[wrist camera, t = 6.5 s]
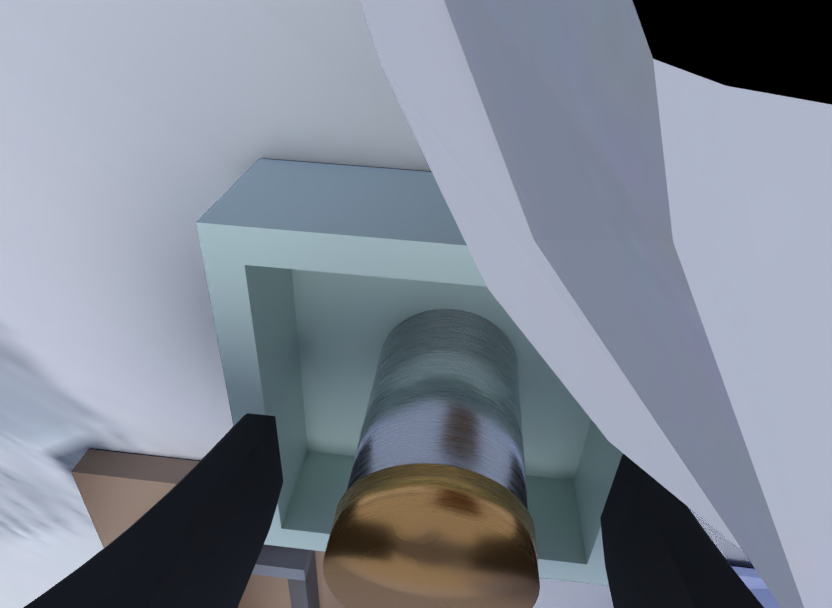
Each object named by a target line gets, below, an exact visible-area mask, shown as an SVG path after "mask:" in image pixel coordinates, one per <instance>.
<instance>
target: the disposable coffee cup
mask: <svg viewBox="0 0 832 608" xmlns="http://www.w3.org/2000/svg"><path fill="white" fill-rule="evenodd" d="M359 2H360V5H361V8H362V11H363V14H364V17H365V20H366V23H367V26H368V29H369V32H370V35H371V38H372V41H373V44H374V47H375V50H376V53H377V56H378V59H379V62H380V65H381V67H382V69H383V71H384V74H385V76H386V78H387V80H388V82H389V84H390V86H391V88H392V90H393V92H394V94H395V96H396V99H397V101H398V103H399V105H400V107H401V109H402V111H403V113H404V115H405V117H406V119H407V121H408V124H409V126H410V128H411V130H412V132H413V134H414V136H415V138H416V140H417V142H418V144H419V146H420V149H421V151H422V153H423V155H424V157H425V159H426V161H427V163H428V165H429V167H430V169H431V171H432V174H433V176H434V178H435V180H436V182H437V184H438V186H439V188H440V190H441V192H442V194H443V196H444V199H445V201H446V203H447V205H448V207H449V209H450V211H451V213H452V215H453V217H454V219H455V221H456V224H457V226H458V228H459V230H460V232H461V234H462V236H463V238H464V240H465V242H466V244H467V247H468V249H469V251H470V253H471V255H472V257H473V259H474V261H475V263H476V265H477V267H478V269H479V272H480V274H481V276H482V278H483V280H484V282H485V284H486V286H487V288H488V289H489V290H490V292H491V293H492V294H493V296H494V297H495V298H496V299H497V301H498V302H499V303H500V304H501V306H502V307H503V308H504V309H505V311H506V312H507V313H508V315H509V316H510V317H511V318H512V320H513V321H514V322H515V323H516V325H517V326H518V327H519V328H520V330H521V331H522V332H523V333H524V335H525V336H526V337H527V339H528V340H529V341H530V342H531V344H532V345H533V346H534V347H535V349H536V350H537V351H538V352H539V354H540V355H541V356H542V358H543V359H544V360H545V361H546V363H547V364H548V365H549V366H550V368H551V369H552V370H553V371H554V373H555V374H556V375H557V377H558V378H559V379H560V380H561V382H562V383H563V384H564V385H565V387H566V388H567V389H568V390H569V392H570V393H571V394H572V395H573V397H574V398H575V399H576V401H577V402H578V403H579V404H580V406H581V407H582V408H583V409H584V411H585V412H586V413H587V414H588V416H589V417H590V418H591V420H592V421H593V422H594V423H595V425H596V426H597V427H598V428H599V430H600V431H601V432H602V433H603V435H604V436H605V437H606V439H607V440H608V441H609V442H610V443H611V444H613V445H614V446H615V447H616V448H617V449H619V450H620V451H621V452H622V453H624V454H625V455H626V456H627V457H628V458H630V459H631V460H632V461H633V462H634V463H636V464H637V465H638V466H639V467H640V468H642V469H643V470H644V471H645V472H647V473H648V474H649V475H650V476H651V477H653V478H654V479H655V480H656V481H657V482H659V483H660V484H661V485H662V486H663V487H665V488H666V489H667V490H668V491H670V492H671V493H672V494H673V495H674V496H676V497H677V498H678V499H679V500H680V501H682V502H683V503H684V504H685V505H686V506H688V507H689V508H690V509H691V510H692V511H694V512H695V513H696V514H697V515H699V516H700V517H701V518H702V519H703V520H705V521H706V522H707V523H708V524H709V525H711V526H712V527H713V528H714V529H715V530H717V531H718V532H719V533H720V534H722V535H723V536H724V537H725V538H726V539H728V540H729V541H730V542H731V543H732V544H734V545H735V546H736V547H738V548H740V549H742V550H743V552H744V553H745V555H746V556H747V558H748V559H749V561H750V562H751V563H752V565H753V566H754V568H755V569H756V571H757V572H758V574H759V575H760V577H761V578H762V580H763V581H764V583H765V584H766V586H767V587H768V589H769V590H770V592H771V593H772V595H773V596H774V598H775V599H776V601H777V602H778V604H779V605H780V607H781V608H832V0H359Z"/></svg>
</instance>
